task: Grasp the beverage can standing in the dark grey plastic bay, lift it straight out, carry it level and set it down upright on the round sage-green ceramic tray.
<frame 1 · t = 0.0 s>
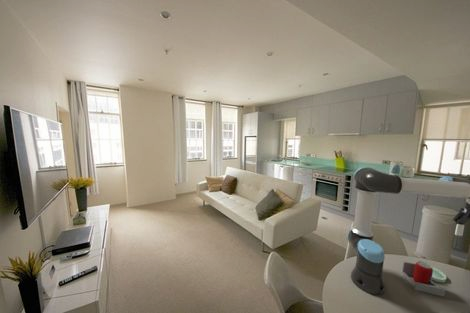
beverage can: (421, 284, 98), resting in bay
bay: (421, 283, 98), on the table
tray: (429, 273, 105), on the table
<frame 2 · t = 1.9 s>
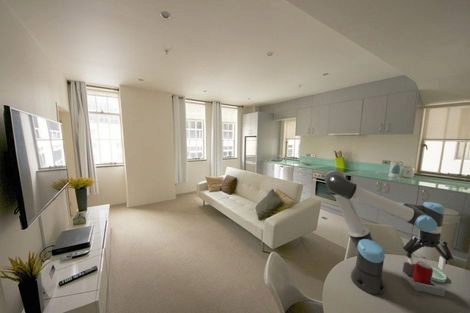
hand: (425, 265, 96), 11 cm above the table, fingers open, 13 cm apart
nothing on the table moved.
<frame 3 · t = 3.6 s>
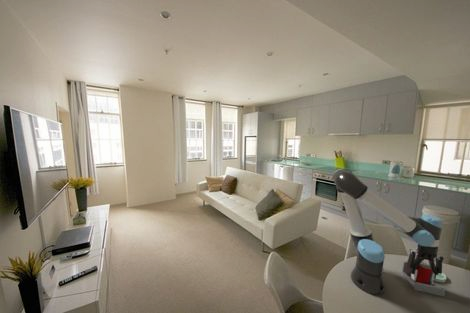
hand: (421, 280, 98), 2 cm above the table, fingers closed on beverage can, 7 cm apart
beverage can: (421, 284, 98), resting in bay, touching gripper
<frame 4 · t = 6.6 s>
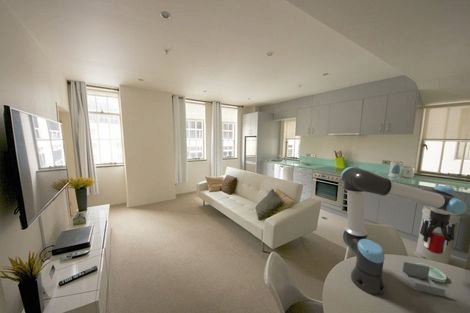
hand: (434, 248, 103), 17 cm above the table, fingers closed on beverage can, 7 cm apart
beverage can: (433, 251, 103), point 15 cm above the table, touching gripper
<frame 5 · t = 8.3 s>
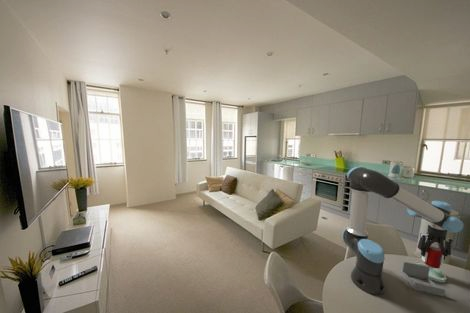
hand: (431, 262, 105), 8 cm above the table, fingers closed on beverage can, 7 cm apart
beverage can: (431, 265, 105), point 5 cm above the table, touching gripper
when the fingers open (4 cm above the table, at t = 9.7 s): beverage can drops 2 cm, resting on tray.
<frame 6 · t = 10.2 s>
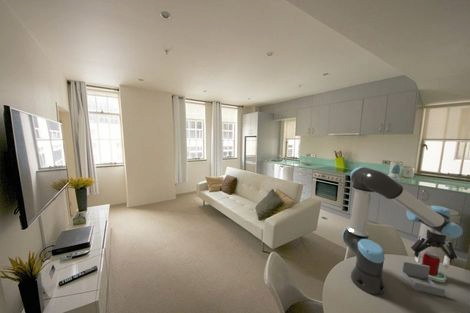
hand: (431, 264, 105), 6 cm above the table, fingers open, 13 cm apart
beverage can: (428, 272, 105), resting on tray
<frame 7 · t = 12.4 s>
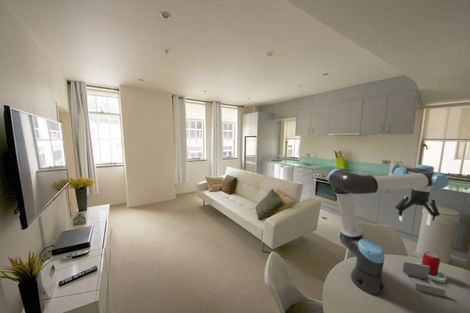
hand: (414, 222, 107), 30 cm above the table, fingers open, 13 cm apart
nothing on the table moved.
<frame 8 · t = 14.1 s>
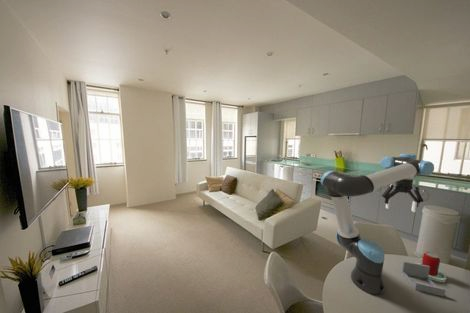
hand: (400, 210, 110), 37 cm above the table, fingers open, 13 cm apart
nothing on the table moved.
at the end: beverage can 0.3 cm from the tray (horizontally); beverage can tilted 0°; the gripper is holding nothing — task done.
